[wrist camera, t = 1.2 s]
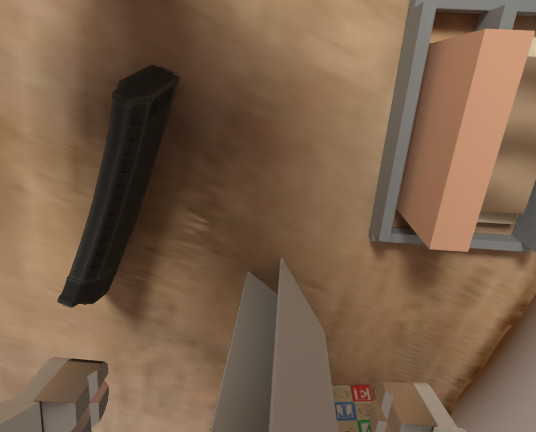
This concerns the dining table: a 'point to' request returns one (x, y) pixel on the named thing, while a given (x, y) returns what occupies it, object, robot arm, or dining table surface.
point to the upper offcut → (516, 151)
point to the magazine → (120, 181)
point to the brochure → (276, 364)
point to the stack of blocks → (353, 407)
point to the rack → (403, 111)
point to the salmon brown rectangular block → (459, 132)
